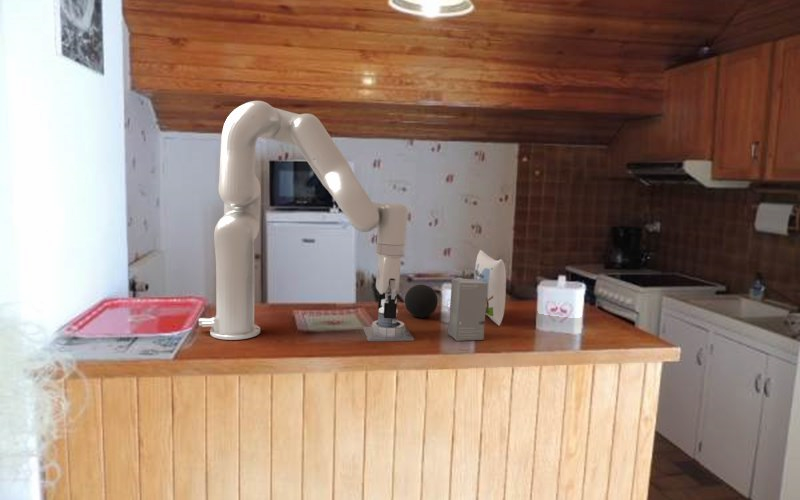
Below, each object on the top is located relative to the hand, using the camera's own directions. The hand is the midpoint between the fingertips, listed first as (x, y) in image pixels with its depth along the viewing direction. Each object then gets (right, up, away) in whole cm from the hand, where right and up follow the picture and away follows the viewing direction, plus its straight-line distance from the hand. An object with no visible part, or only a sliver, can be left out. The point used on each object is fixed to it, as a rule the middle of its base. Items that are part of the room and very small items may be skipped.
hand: (386, 313), depth 153 cm
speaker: (+10, -4, +21) cm, 23 cm away
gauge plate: (0, -6, +1) cm, 6 cm away
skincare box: (+22, -7, +2) cm, 23 cm away
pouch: (+31, -4, +23) cm, 39 cm away
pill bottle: (0, -6, +1) cm, 6 cm away
